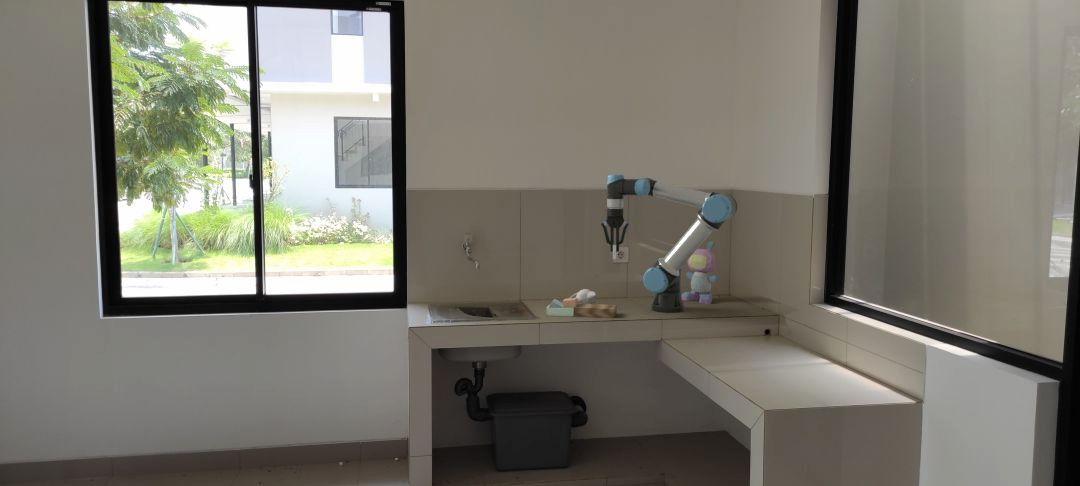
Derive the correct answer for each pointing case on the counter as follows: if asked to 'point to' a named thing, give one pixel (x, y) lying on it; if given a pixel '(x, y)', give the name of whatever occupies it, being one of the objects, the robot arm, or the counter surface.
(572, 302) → the tile
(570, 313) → the tray
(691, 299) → the toy
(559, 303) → the tile
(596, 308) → the board
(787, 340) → the counter surface
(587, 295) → the toy
